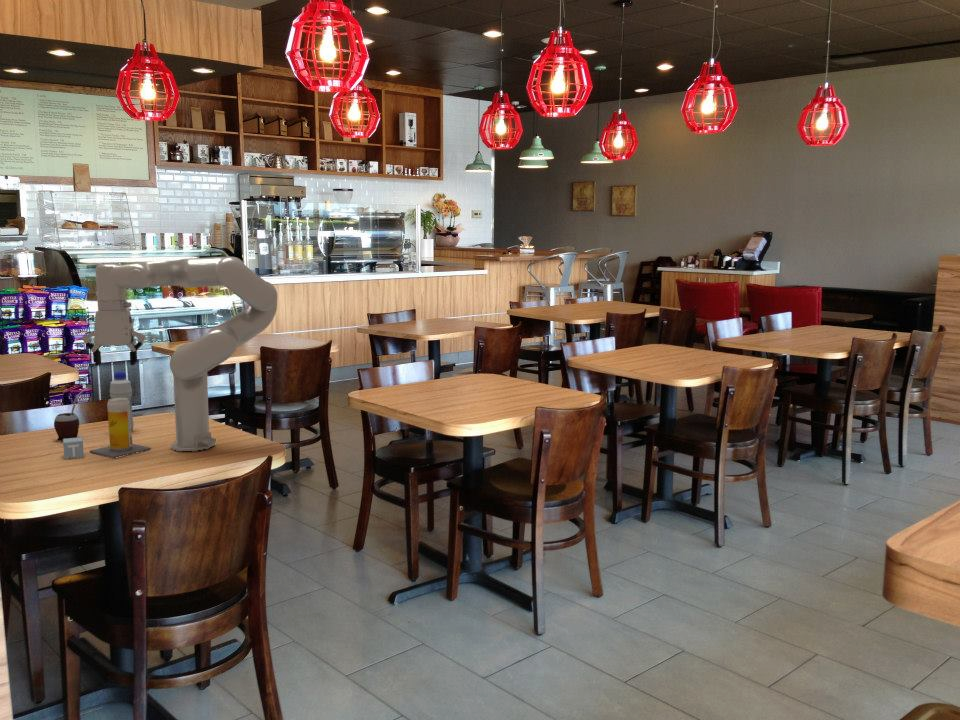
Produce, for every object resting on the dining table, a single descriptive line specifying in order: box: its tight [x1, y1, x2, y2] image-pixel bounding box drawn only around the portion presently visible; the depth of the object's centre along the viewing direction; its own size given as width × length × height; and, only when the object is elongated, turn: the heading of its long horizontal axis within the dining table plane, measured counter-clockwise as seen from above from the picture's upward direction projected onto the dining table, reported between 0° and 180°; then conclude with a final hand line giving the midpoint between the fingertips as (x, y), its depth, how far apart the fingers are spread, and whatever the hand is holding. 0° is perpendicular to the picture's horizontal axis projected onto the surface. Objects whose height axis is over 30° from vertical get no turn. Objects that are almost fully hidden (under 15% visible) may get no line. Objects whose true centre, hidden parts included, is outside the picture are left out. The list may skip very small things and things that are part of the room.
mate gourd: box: [53, 390, 84, 443], centre depth 253 cm, size 8×8×15 cm
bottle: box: [109, 371, 134, 432], centre depth 262 cm, size 7×7×20 cm
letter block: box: [62, 436, 85, 460], centre depth 234 cm, size 5×5×5 cm
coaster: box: [89, 443, 152, 459], centre depth 240 cm, size 12×12×1 cm
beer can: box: [106, 398, 133, 451], centre depth 239 cm, size 6×6×15 cm
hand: (115, 364), depth 236 cm, fingers open, 9 cm apart
